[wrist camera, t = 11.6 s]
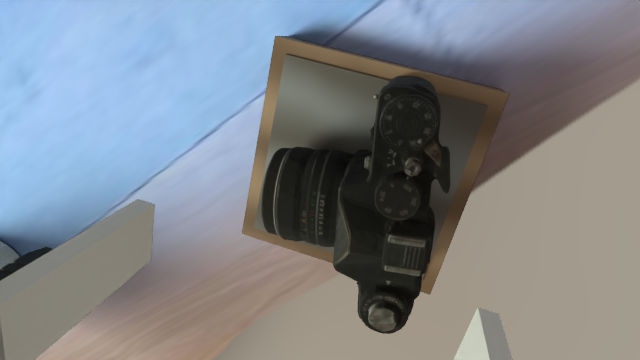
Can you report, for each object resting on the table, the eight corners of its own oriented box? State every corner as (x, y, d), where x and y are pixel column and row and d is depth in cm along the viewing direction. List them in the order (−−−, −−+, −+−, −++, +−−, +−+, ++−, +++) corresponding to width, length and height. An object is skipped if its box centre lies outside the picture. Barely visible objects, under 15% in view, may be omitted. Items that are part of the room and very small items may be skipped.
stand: (287, 36, 30) (274, 36, 28) (500, 89, 28) (509, 94, 25) (254, 219, 36) (240, 234, 33) (429, 275, 34) (430, 296, 31)
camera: (295, 62, 28) (235, 73, 19) (454, 78, 26) (474, 98, 17) (286, 239, 33) (234, 318, 23) (419, 264, 31) (419, 360, 21)
